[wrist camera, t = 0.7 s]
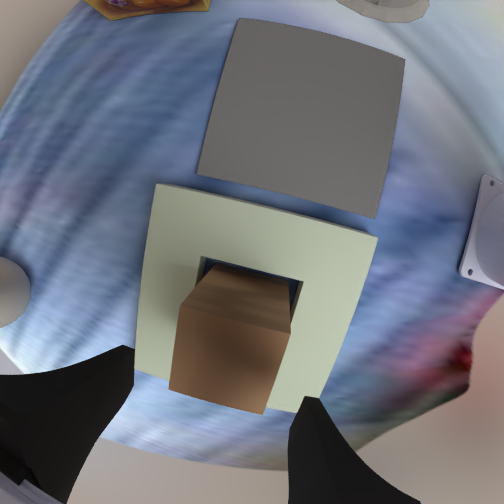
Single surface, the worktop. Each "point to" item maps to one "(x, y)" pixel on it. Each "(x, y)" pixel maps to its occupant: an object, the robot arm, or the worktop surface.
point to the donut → (12, 291)
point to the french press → (389, 9)
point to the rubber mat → (304, 116)
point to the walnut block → (231, 338)
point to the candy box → (145, 7)
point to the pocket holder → (260, 258)
